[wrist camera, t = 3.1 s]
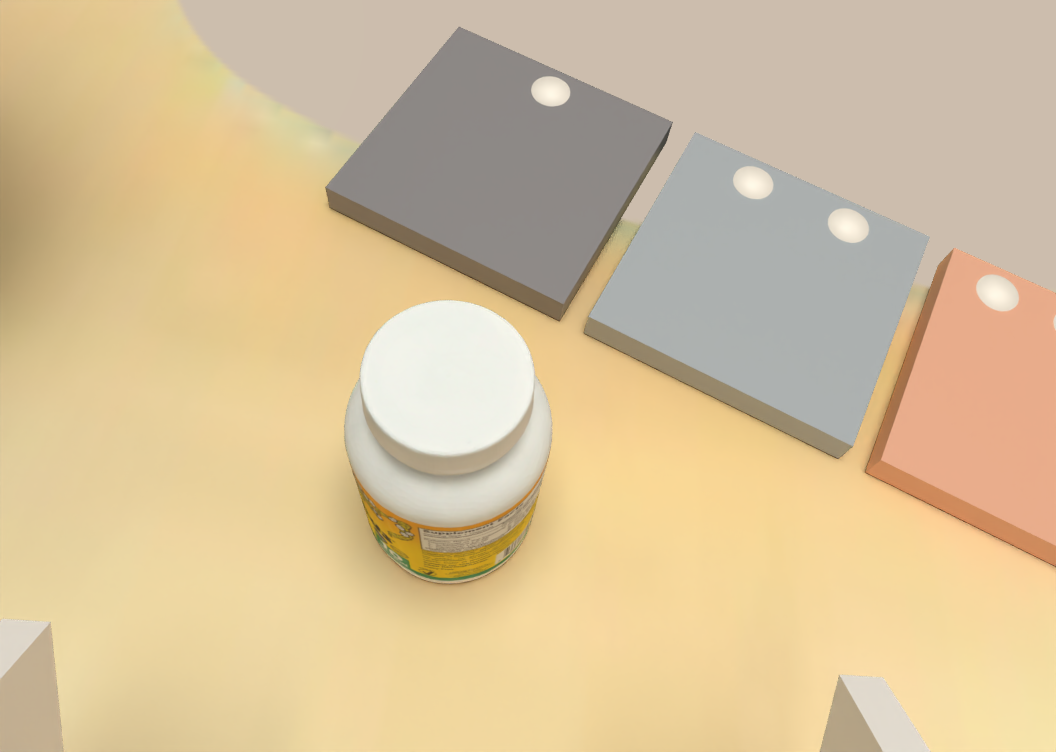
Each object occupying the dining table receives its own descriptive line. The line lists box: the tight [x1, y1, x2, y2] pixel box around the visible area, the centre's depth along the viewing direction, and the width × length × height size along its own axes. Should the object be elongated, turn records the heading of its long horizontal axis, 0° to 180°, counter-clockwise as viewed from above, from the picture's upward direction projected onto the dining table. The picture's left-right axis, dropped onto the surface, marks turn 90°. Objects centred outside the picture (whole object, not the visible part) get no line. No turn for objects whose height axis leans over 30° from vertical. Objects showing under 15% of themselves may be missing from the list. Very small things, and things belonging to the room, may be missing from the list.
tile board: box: [325, 27, 1056, 566], centre depth 31 cm, size 32×10×1 cm, turn 62°
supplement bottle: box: [344, 300, 552, 584], centre depth 23 cm, size 5×5×10 cm
